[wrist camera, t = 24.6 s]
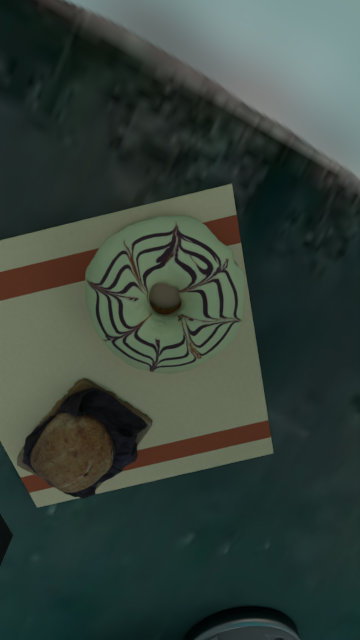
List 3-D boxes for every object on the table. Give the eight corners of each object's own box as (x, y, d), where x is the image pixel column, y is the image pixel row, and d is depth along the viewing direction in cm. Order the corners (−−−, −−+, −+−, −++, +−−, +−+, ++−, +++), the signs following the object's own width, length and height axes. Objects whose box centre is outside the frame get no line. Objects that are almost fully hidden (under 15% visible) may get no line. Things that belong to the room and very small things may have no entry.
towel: (271, 448, 32) (273, 453, 31) (39, 502, 32) (36, 508, 31) (230, 183, 23) (232, 183, 22) (-92, 262, 23) (-99, 264, 22)
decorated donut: (188, 182, 22) (194, 181, 18) (260, 310, 26) (277, 329, 22) (62, 267, 23) (46, 281, 20) (147, 376, 27) (146, 404, 23)
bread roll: (90, 495, 31) (82, 533, 28) (9, 453, 29) (-10, 489, 26) (161, 423, 29) (162, 454, 25) (80, 370, 26) (68, 397, 23)
